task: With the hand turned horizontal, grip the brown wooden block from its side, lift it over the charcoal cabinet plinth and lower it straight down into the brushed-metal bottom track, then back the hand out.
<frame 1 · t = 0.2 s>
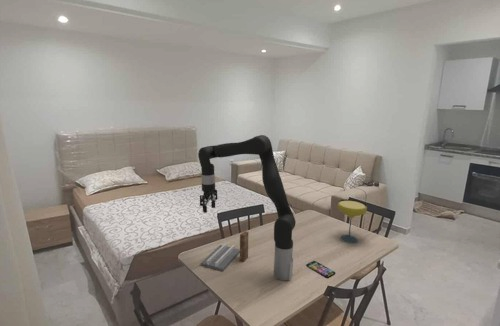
hand: (209, 210, 159), 29 cm above the table, tool pointing down, fingers open, 8 cm apart
brown wooden block: (243, 258, 163), on the table
cocktail glass: (348, 239, 189), on the table
smartphone: (320, 270, 154), on the table
track plinth: (221, 258, 163), on the table
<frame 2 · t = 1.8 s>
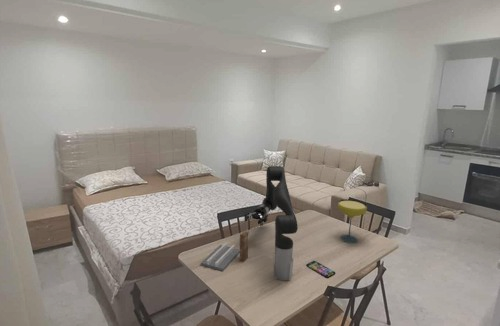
hand: (251, 221, 169), 19 cm above the table, tool horizontal, fingers open, 8 cm apart
nothing on the table moved.
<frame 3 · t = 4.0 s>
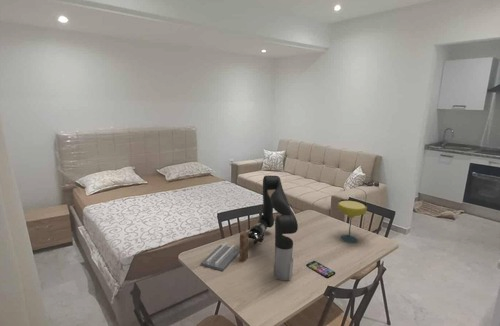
hand: (247, 241, 165), 9 cm above the table, tool horizontal, fingers open, 8 cm apart
nothing on the table moved.
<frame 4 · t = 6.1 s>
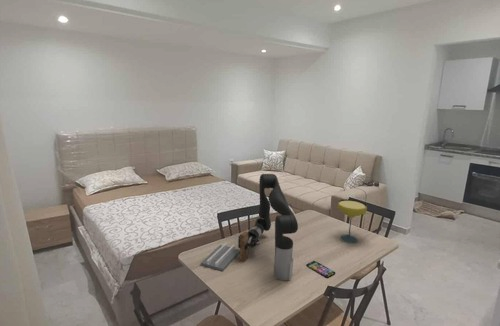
hand: (242, 247, 158), 9 cm above the table, tool horizontal, fingers closed on brown wooden block, 3 cm apart
brown wooden block: (243, 258, 163), on the table, touching gripper
everything else where it was.
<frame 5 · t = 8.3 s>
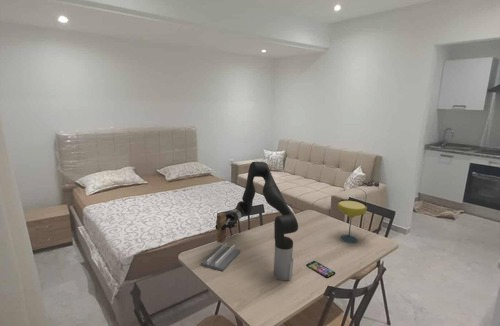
hand: (219, 228, 156), 20 cm above the table, tool horizontal, fingers closed on brown wooden block, 3 cm apart
brown wooden block: (221, 240, 161), point 11 cm above the table, touching gripper
everything else where it was.
when the fingers open (12 cm above the table, at t = 10.5 s): brown wooden block drops 1 cm, resting on track plinth.
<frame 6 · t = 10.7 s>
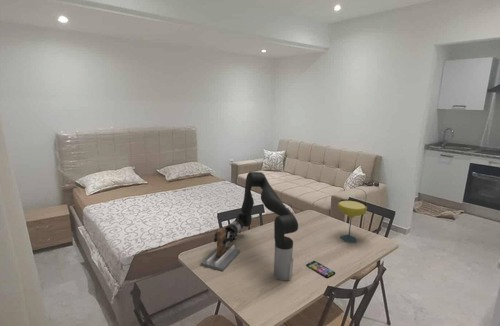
hand: (219, 241, 158), 12 cm above the table, tool horizontal, fingers open, 5 cm apart
brown wooden block: (221, 255, 162), point 2 cm above the table, touching track plinth
everything else where it was.
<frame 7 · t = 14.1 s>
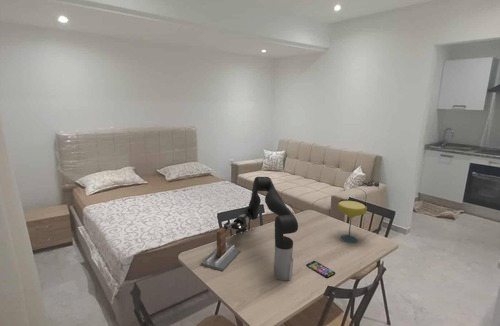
hand: (230, 231, 170), 12 cm above the table, tool horizontal, fingers open, 8 cm apart
nothing on the table moved.
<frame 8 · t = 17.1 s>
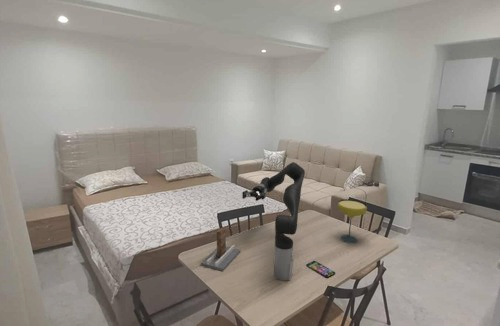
hand: (249, 198, 170), 32 cm above the table, tool horizontal, fingers open, 8 cm apart
nothing on the table moved.
at the end: brown wooden block inside the target area on the track plinth (0.1 cm from its centre), point 1.5 cm above the track plinth's base; brown wooden block tilted 0°; the gripper is holding nothing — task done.
